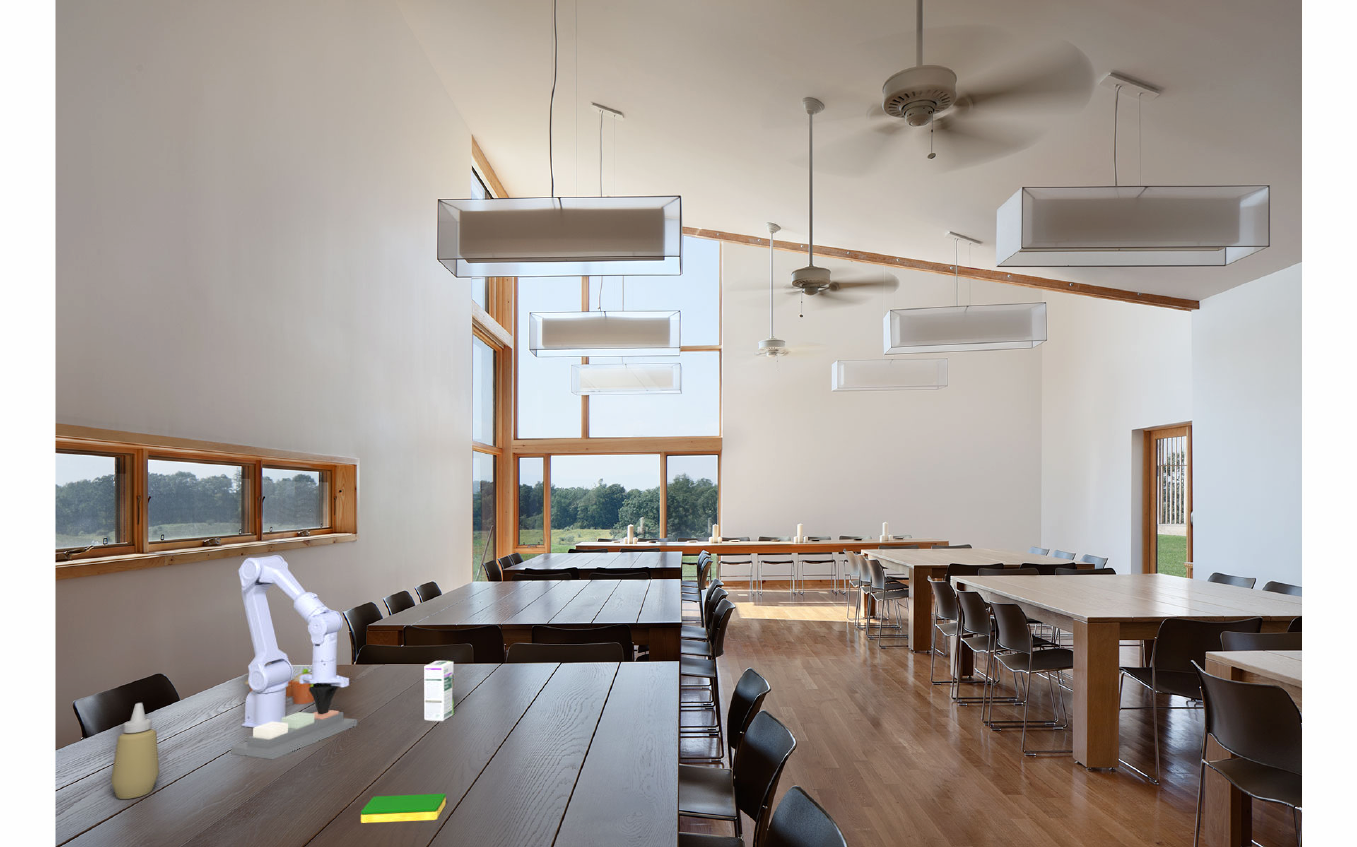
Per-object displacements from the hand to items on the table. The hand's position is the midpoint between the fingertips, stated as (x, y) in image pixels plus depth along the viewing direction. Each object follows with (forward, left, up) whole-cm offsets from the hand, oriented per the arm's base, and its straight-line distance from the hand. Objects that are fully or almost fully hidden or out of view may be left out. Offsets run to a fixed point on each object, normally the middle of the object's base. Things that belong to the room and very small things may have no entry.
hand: (323, 713), depth 194 cm
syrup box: (+23, +17, -4) cm, 29 cm away
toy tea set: (-34, +20, -5) cm, 40 cm away
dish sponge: (+55, -35, -5) cm, 66 cm away
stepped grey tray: (0, -8, -4) cm, 9 cm away
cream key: (0, -16, -1) cm, 16 cm away
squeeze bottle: (-4, -45, -4) cm, 45 cm away
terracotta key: (0, 0, -2) cm, 2 cm away
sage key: (0, -8, -1) cm, 8 cm away
